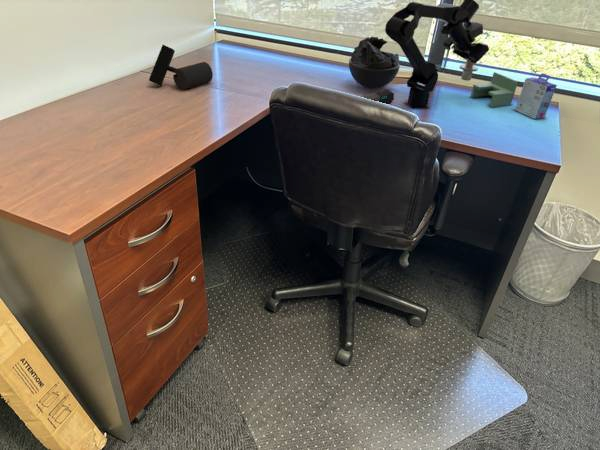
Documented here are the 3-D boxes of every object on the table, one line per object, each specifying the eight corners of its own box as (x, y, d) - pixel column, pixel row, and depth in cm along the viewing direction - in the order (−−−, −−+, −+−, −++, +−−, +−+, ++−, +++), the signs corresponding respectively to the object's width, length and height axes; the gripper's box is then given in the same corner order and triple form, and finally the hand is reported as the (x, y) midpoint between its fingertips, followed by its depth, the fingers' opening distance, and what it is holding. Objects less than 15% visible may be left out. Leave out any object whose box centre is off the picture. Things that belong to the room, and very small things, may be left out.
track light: (217, 69, 185) (170, 47, 183) (212, 62, 171) (161, 38, 169) (203, 105, 187) (156, 84, 185) (196, 101, 173) (145, 78, 171)
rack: (491, 107, 177) (498, 84, 172) (470, 96, 186) (476, 74, 181) (510, 104, 181) (518, 81, 176) (488, 94, 190) (495, 72, 184)
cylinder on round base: (462, 82, 179) (471, 49, 172) (453, 76, 184) (461, 44, 177) (478, 81, 180) (487, 48, 173) (468, 76, 186) (476, 43, 179)
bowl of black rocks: (378, 77, 200) (384, 31, 189) (405, 93, 186) (414, 43, 175) (337, 82, 193) (342, 34, 182) (362, 98, 178) (369, 47, 167)
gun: (396, 110, 168) (392, 85, 162) (347, 132, 166) (341, 108, 160) (390, 106, 171) (386, 81, 165) (342, 127, 170) (336, 103, 163)
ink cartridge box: (545, 117, 171) (560, 78, 163) (535, 119, 169) (549, 80, 161) (524, 108, 178) (537, 70, 170) (514, 110, 176) (526, 71, 168)
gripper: (492, 21, 160) (506, 51, 171) (456, 10, 174) (471, 39, 185) (469, 46, 162) (484, 75, 173) (435, 33, 176) (451, 61, 186)
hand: (473, 61), depth 179 cm, fingers closed on cylinder on round base, 3 cm apart
